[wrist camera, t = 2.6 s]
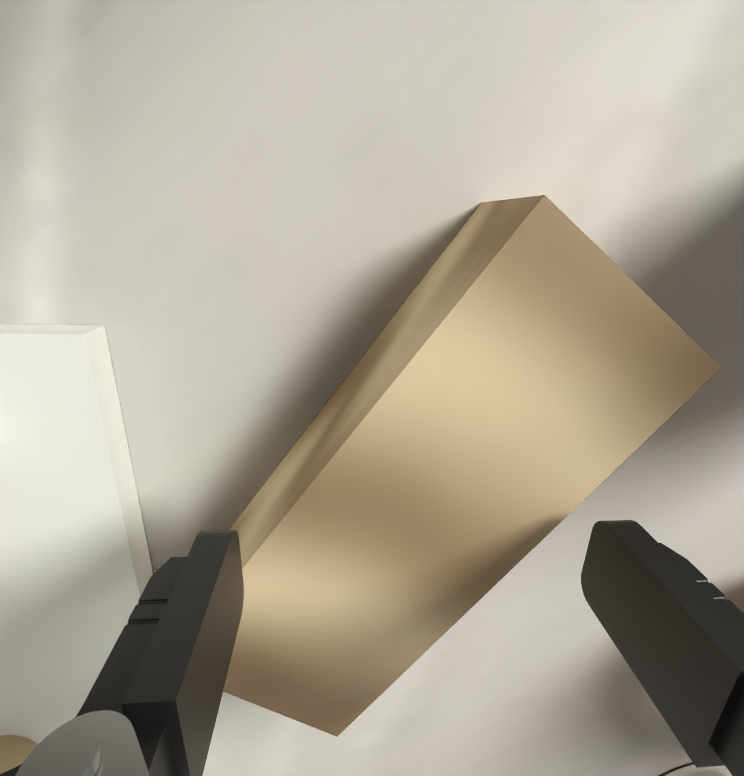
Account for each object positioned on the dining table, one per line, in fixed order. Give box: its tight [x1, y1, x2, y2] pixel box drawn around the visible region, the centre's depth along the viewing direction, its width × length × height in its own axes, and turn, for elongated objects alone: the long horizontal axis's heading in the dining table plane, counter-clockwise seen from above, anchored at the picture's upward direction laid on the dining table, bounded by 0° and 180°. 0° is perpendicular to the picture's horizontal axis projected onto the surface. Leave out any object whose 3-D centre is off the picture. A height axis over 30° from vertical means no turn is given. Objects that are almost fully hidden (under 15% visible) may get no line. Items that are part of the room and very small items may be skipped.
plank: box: [223, 195, 722, 736], centre depth 12 cm, size 14×6×4 cm, turn 143°
